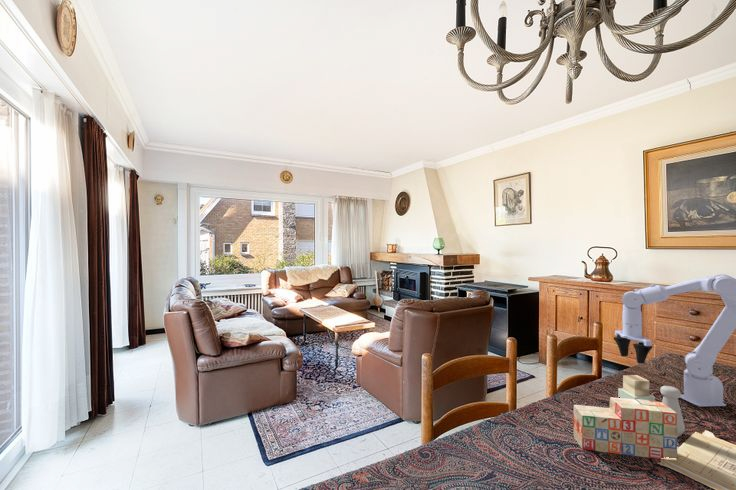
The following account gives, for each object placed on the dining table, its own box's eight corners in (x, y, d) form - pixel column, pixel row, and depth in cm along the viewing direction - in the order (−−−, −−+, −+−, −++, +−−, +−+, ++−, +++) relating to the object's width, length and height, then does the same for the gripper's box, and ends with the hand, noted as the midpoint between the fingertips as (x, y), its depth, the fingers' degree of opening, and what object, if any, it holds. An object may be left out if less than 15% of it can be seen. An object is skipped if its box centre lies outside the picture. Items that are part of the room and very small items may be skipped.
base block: (637, 396, 118) (637, 387, 118) (655, 405, 111) (655, 396, 111) (618, 396, 118) (618, 388, 118) (634, 406, 111) (634, 397, 111)
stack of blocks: (581, 450, 88) (581, 403, 88) (573, 436, 94) (572, 393, 94) (678, 461, 83) (677, 412, 83) (662, 447, 89) (662, 400, 89)
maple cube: (637, 389, 117) (637, 375, 117) (649, 395, 112) (649, 380, 112) (623, 389, 117) (622, 375, 117) (634, 396, 112) (634, 381, 112)
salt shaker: (678, 429, 97) (677, 384, 97) (689, 440, 92) (689, 393, 92) (653, 426, 99) (653, 382, 99) (663, 436, 94) (663, 390, 94)
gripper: (607, 319, 133) (607, 353, 133) (637, 328, 118) (638, 366, 118) (624, 319, 133) (624, 353, 133) (657, 328, 119) (657, 366, 119)
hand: (632, 359), depth 126 cm, fingers open, 7 cm apart
